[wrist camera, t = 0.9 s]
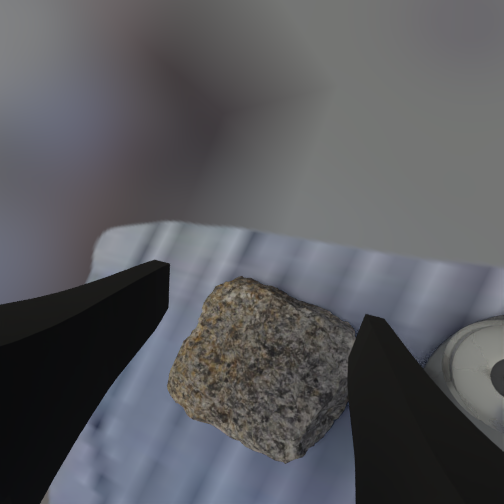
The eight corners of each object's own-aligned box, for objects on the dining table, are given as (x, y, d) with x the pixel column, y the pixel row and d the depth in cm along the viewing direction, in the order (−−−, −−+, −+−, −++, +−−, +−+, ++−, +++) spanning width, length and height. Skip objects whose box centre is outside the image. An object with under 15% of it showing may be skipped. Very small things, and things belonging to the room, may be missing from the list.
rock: (380, 335, 24) (237, 267, 32) (370, 333, 19) (201, 251, 27) (316, 484, 24) (187, 378, 32) (285, 526, 18) (138, 385, 26)
